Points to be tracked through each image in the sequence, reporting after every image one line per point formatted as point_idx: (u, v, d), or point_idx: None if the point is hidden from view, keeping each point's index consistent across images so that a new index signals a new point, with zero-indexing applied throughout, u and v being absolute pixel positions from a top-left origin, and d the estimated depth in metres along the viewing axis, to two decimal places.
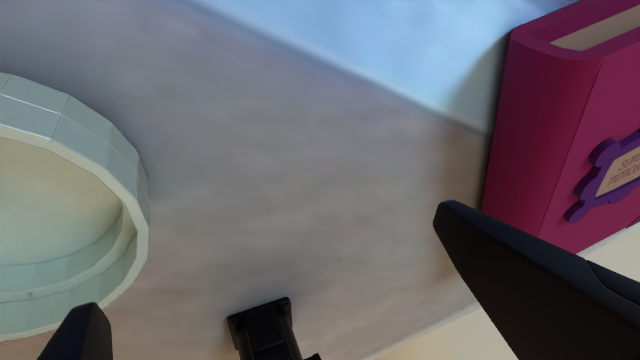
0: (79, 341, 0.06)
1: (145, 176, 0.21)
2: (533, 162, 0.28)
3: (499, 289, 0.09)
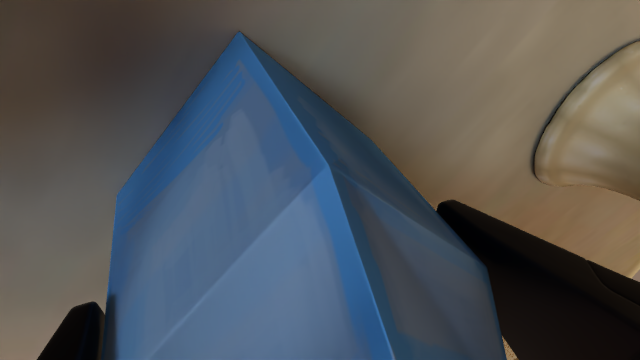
0: (79, 341, 0.06)
1: None
2: None
3: (499, 289, 0.09)
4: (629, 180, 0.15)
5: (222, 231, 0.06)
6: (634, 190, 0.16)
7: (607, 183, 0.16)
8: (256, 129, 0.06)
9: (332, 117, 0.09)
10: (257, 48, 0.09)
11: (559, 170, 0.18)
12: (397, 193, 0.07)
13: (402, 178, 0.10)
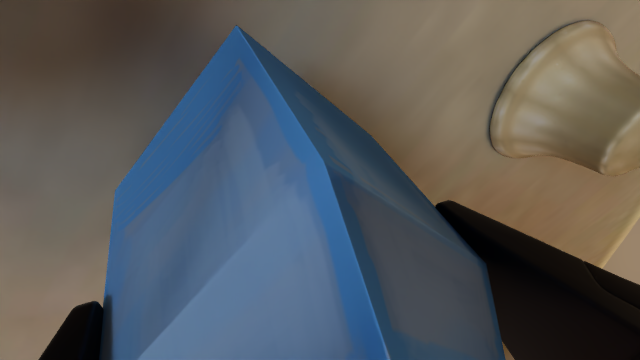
0: (81, 340, 0.06)
1: None
2: None
3: (496, 290, 0.09)
4: (566, 145, 0.18)
5: (217, 228, 0.06)
6: (572, 154, 0.18)
7: (551, 149, 0.19)
8: (252, 124, 0.06)
9: (331, 112, 0.09)
10: (255, 42, 0.09)
11: (511, 140, 0.20)
12: (395, 189, 0.07)
13: (401, 174, 0.10)
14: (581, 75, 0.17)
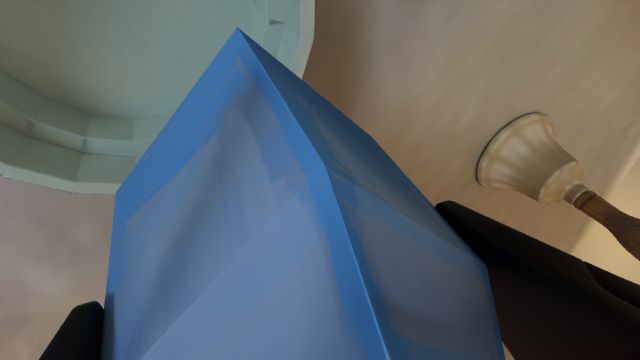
0: (81, 340, 0.06)
1: None
2: None
3: (496, 290, 0.09)
4: (520, 186, 0.30)
5: (218, 231, 0.06)
6: (524, 191, 0.30)
7: (512, 187, 0.31)
8: (253, 127, 0.06)
9: (331, 114, 0.09)
10: (256, 44, 0.09)
11: (489, 180, 0.32)
12: (396, 191, 0.07)
13: (402, 176, 0.10)
14: (528, 147, 0.29)
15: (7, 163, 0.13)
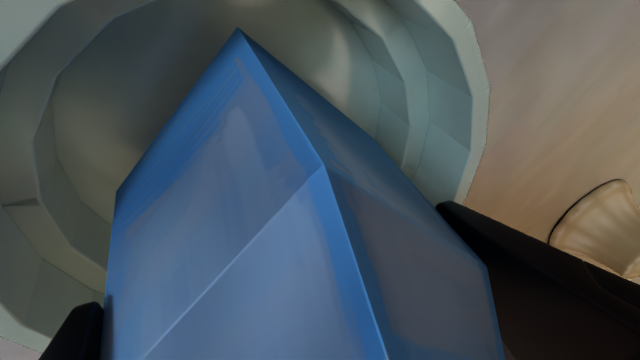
0: (81, 340, 0.06)
1: None
2: None
3: (496, 290, 0.09)
4: (602, 258, 0.28)
5: (217, 230, 0.06)
6: (605, 263, 0.29)
7: (590, 257, 0.30)
8: (252, 127, 0.06)
9: (331, 114, 0.09)
10: (256, 44, 0.09)
11: (563, 247, 0.31)
12: (396, 192, 0.07)
13: (402, 176, 0.10)
14: (611, 219, 0.28)
15: None
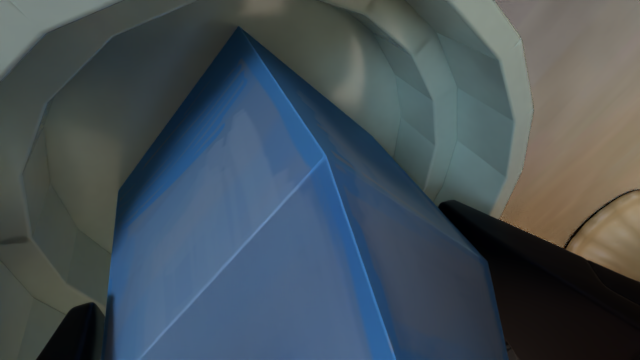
0: (78, 341, 0.06)
1: None
2: None
3: (500, 289, 0.09)
4: (620, 272, 0.27)
5: (221, 224, 0.06)
6: None
7: None
8: (254, 121, 0.06)
9: (332, 112, 0.09)
10: (257, 43, 0.09)
11: None
12: (397, 186, 0.07)
13: (403, 173, 0.10)
14: (631, 232, 0.27)
15: None
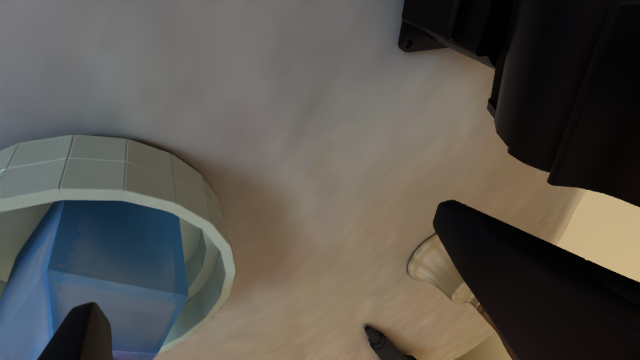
0: (79, 341, 0.06)
1: (54, 141, 0.16)
2: None
3: (499, 289, 0.09)
4: (439, 288, 0.37)
5: (26, 288, 0.15)
6: (442, 291, 0.37)
7: None
8: (48, 243, 0.15)
9: (120, 219, 0.18)
10: None
11: (418, 278, 0.39)
12: (122, 265, 0.16)
13: (170, 246, 0.19)
14: (443, 258, 0.36)
15: None
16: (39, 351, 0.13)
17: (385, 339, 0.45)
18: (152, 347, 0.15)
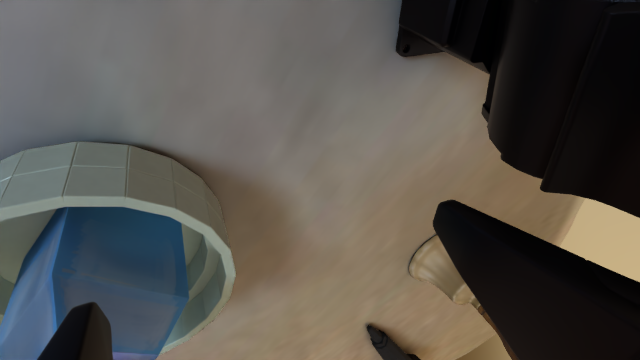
0: (79, 341, 0.06)
1: (58, 148, 0.17)
2: None
3: (499, 289, 0.09)
4: (440, 288, 0.37)
5: (32, 291, 0.15)
6: None
7: (436, 286, 0.38)
8: (52, 248, 0.16)
9: (123, 223, 0.19)
10: None
11: (419, 278, 0.39)
12: (125, 269, 0.17)
13: (171, 249, 0.20)
14: (444, 259, 0.36)
15: None
16: None
17: (387, 338, 0.45)
18: (153, 348, 0.16)
